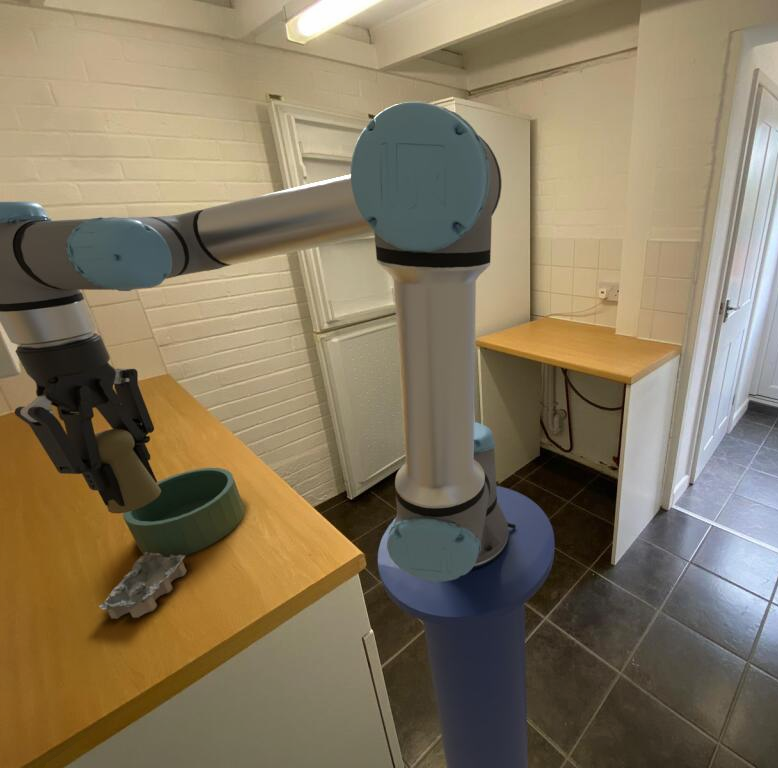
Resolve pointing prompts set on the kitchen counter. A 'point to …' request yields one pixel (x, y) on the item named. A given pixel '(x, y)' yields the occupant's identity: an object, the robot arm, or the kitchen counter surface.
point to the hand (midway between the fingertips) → (132, 492)
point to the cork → (126, 470)
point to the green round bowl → (187, 513)
